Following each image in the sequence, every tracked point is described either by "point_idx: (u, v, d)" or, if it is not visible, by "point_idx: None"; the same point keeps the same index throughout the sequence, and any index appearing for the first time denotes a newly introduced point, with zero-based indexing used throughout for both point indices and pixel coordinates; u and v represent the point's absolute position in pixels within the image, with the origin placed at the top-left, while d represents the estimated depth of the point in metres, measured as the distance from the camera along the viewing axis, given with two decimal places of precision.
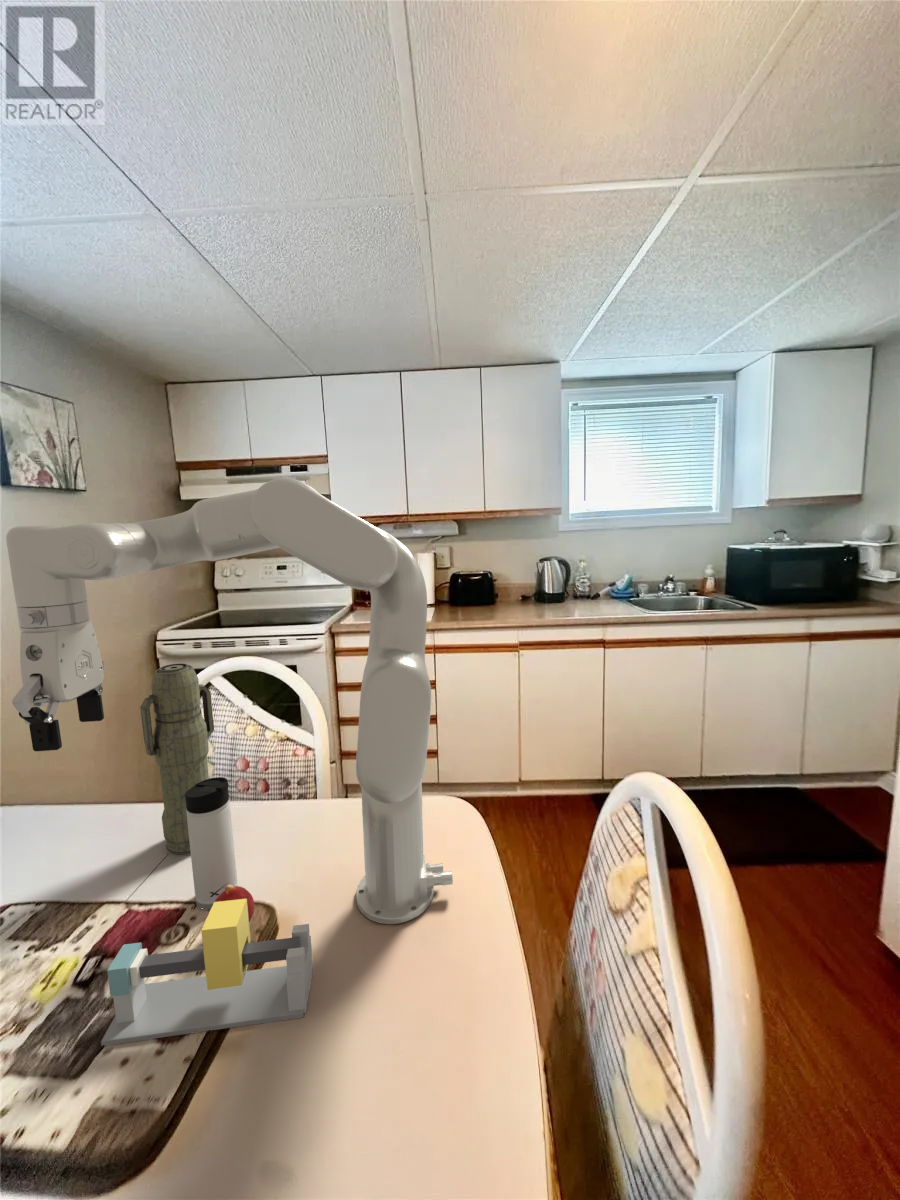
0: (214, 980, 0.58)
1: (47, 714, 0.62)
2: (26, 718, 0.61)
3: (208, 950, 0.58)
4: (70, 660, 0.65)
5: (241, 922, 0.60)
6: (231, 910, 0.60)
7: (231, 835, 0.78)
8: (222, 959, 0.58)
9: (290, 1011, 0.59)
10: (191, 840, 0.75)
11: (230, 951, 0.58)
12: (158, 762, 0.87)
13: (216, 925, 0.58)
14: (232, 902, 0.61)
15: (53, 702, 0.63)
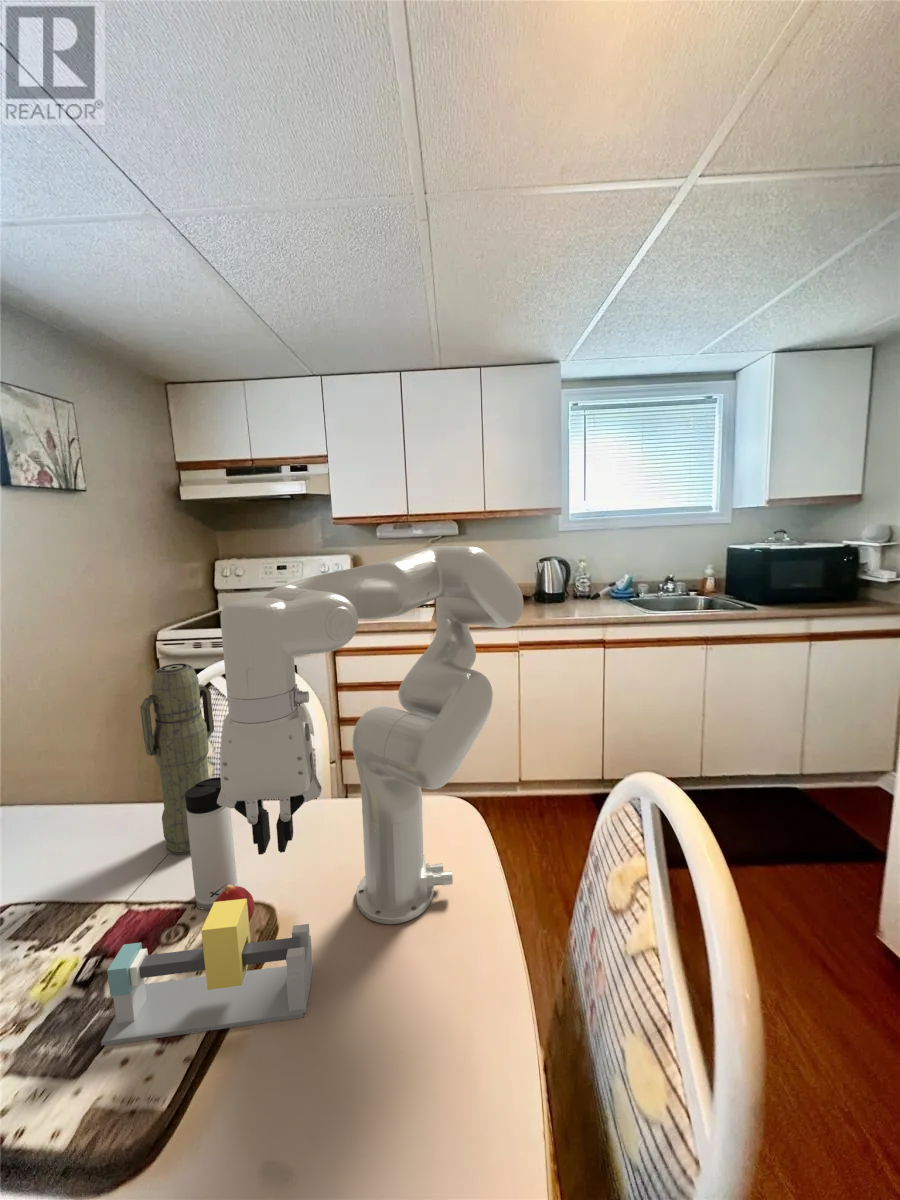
0: (214, 980, 0.58)
1: None
2: None
3: (208, 950, 0.58)
4: None
5: (241, 922, 0.60)
6: (231, 910, 0.60)
7: (231, 835, 0.78)
8: (222, 959, 0.58)
9: (290, 1011, 0.59)
10: (191, 840, 0.75)
11: (230, 951, 0.58)
12: (158, 762, 0.87)
13: (216, 925, 0.58)
14: (232, 902, 0.61)
15: None
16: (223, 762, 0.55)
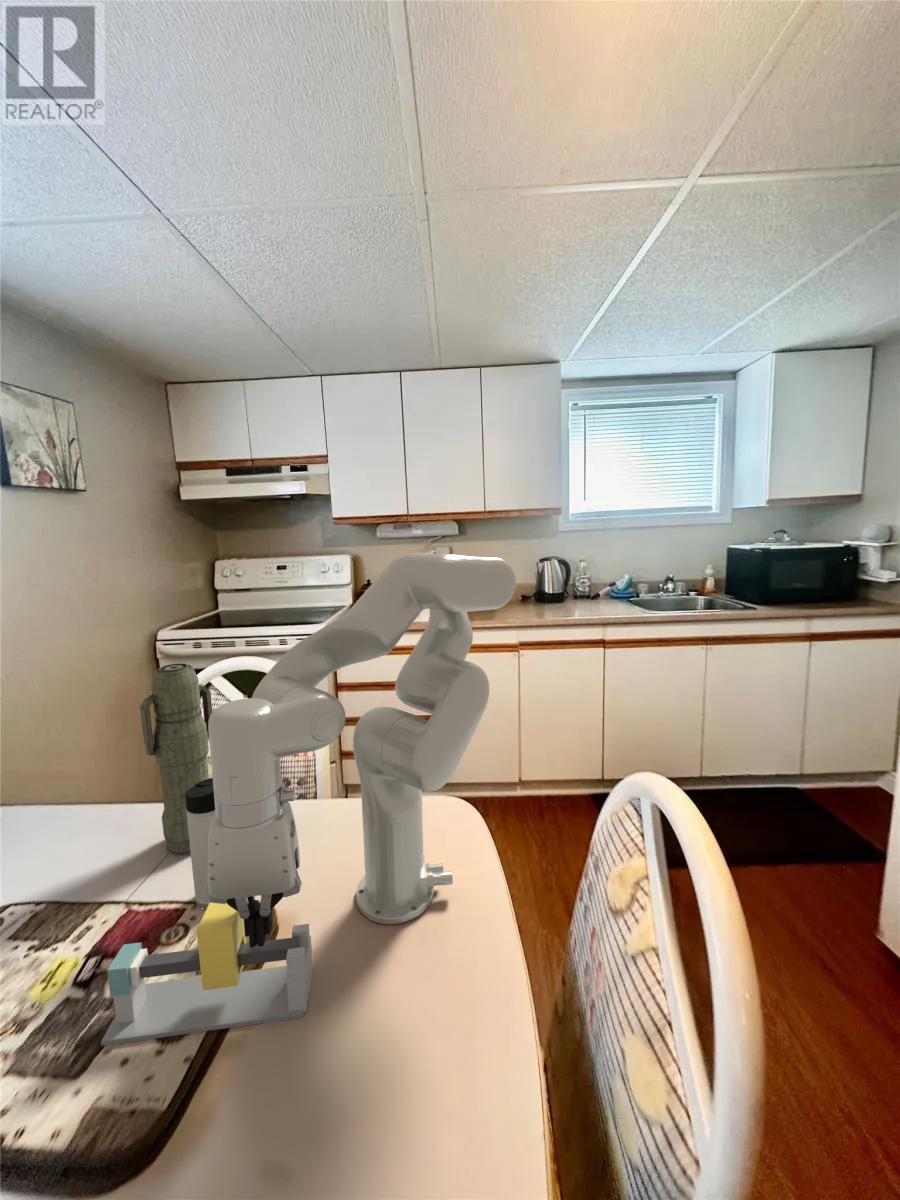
0: (209, 980, 0.58)
1: None
2: None
3: (203, 951, 0.58)
4: None
5: (236, 923, 0.59)
6: (227, 911, 0.60)
7: None
8: (217, 960, 0.58)
9: (290, 1011, 0.59)
10: (191, 840, 0.75)
11: (225, 952, 0.58)
12: (158, 762, 0.87)
13: (211, 926, 0.58)
14: None
15: None
16: (209, 862, 0.56)
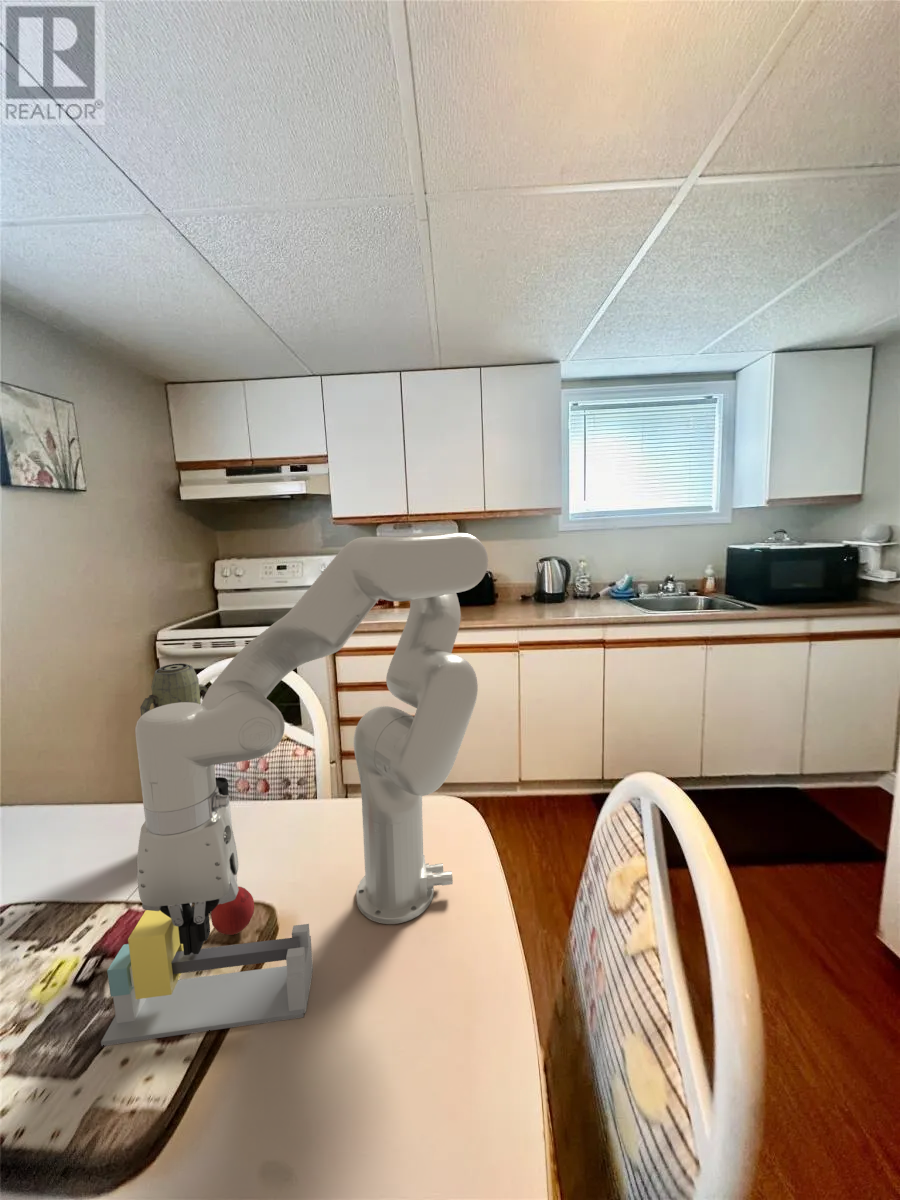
0: (142, 989, 0.57)
1: None
2: None
3: (135, 959, 0.57)
4: None
5: (171, 930, 0.58)
6: (162, 918, 0.59)
7: None
8: (150, 968, 0.57)
9: (290, 1011, 0.59)
10: None
11: (158, 960, 0.57)
12: None
13: (143, 934, 0.57)
14: None
15: None
16: (139, 869, 0.55)
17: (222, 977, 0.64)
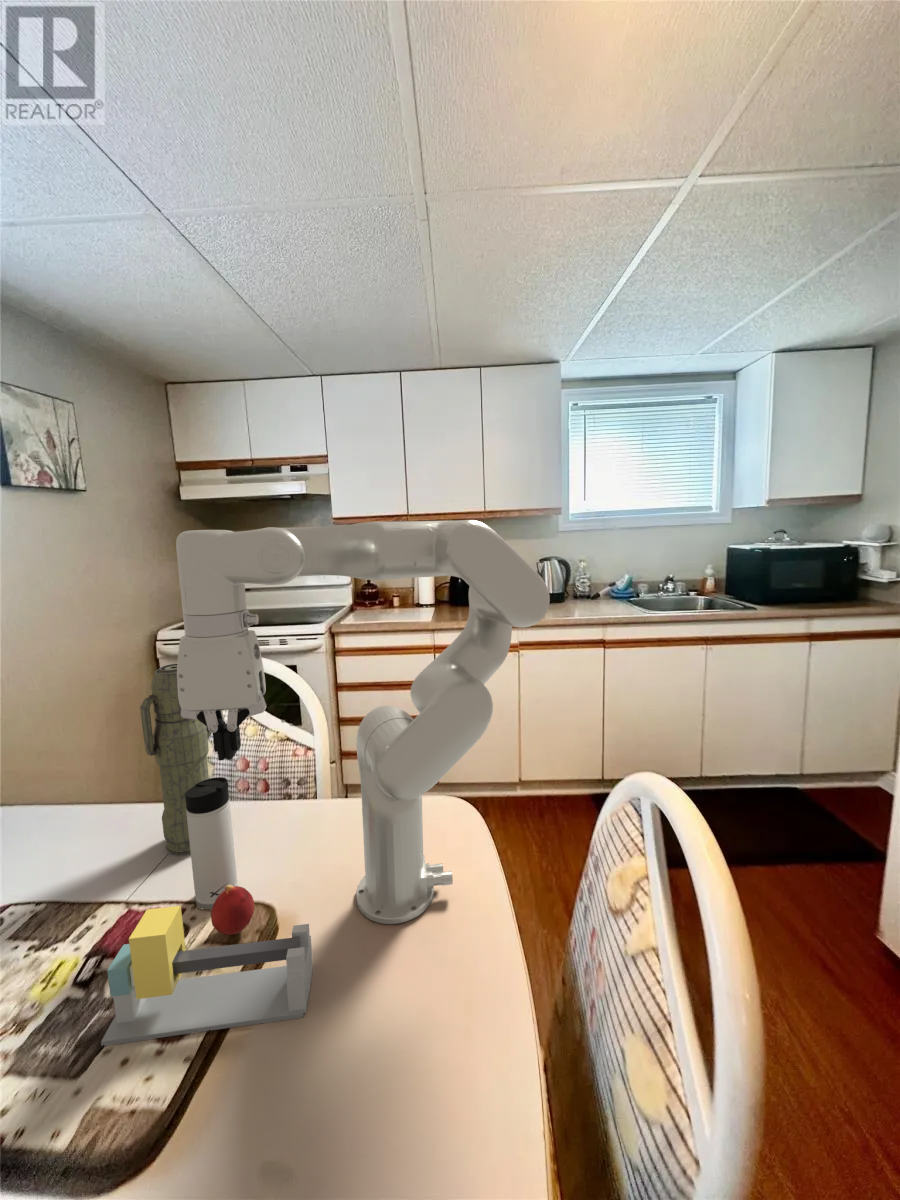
0: (143, 989, 0.57)
1: None
2: None
3: (136, 959, 0.57)
4: None
5: (172, 930, 0.58)
6: (163, 918, 0.59)
7: (231, 835, 0.78)
8: (151, 968, 0.57)
9: (290, 1011, 0.59)
10: (191, 840, 0.75)
11: (159, 960, 0.57)
12: (158, 762, 0.87)
13: (144, 934, 0.57)
14: (165, 909, 0.60)
15: None
16: (179, 674, 0.61)
17: (222, 977, 0.64)
